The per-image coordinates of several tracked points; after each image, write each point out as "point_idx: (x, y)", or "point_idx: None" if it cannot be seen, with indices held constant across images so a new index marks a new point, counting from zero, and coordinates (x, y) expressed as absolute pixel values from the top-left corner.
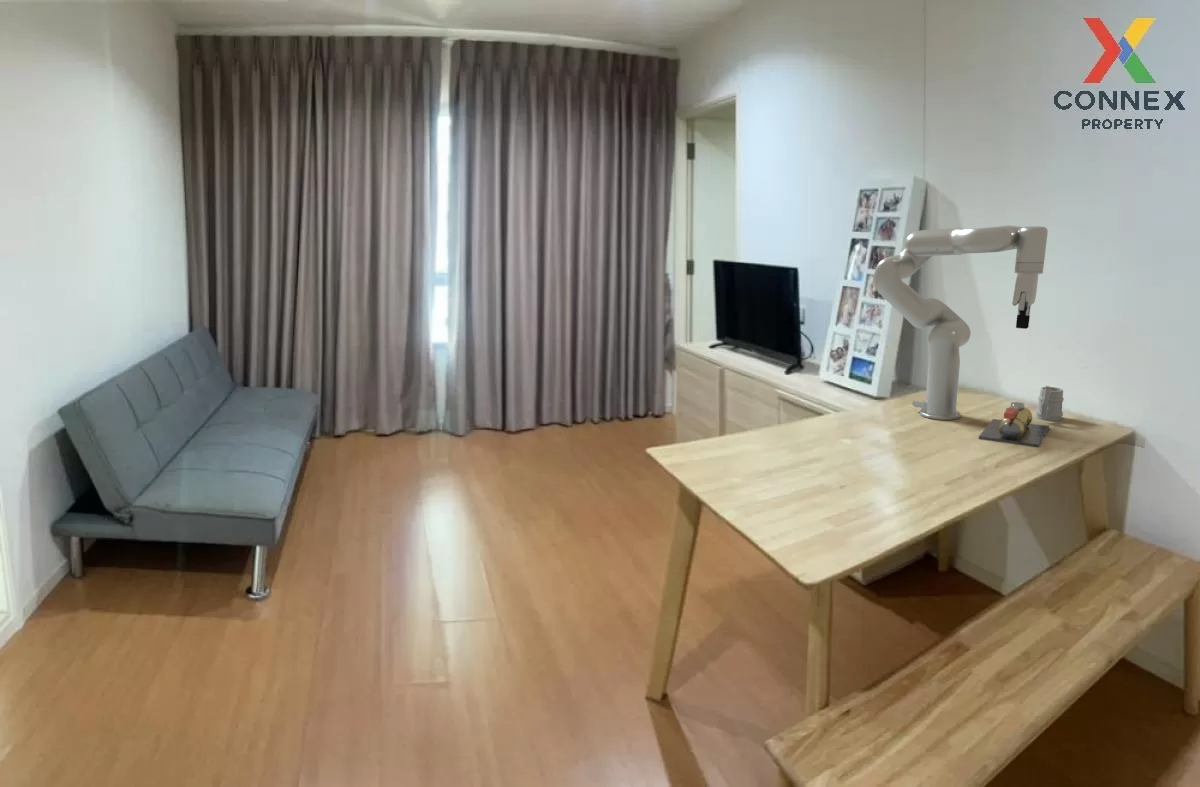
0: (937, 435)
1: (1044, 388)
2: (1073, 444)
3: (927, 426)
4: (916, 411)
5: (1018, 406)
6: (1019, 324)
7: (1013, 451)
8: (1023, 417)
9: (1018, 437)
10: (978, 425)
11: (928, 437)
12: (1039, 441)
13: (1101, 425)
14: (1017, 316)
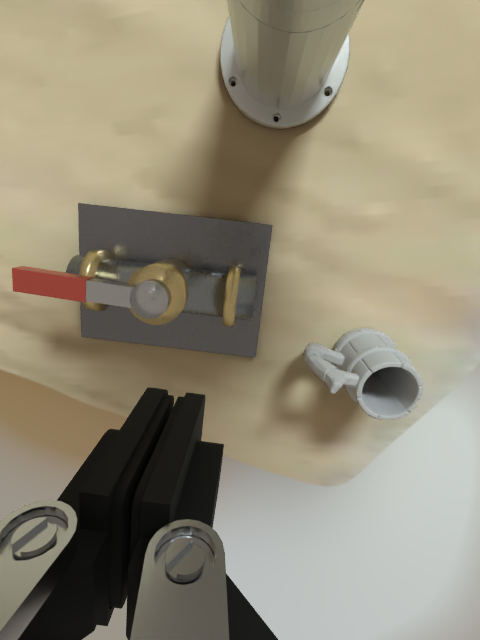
0: (55, 90)
1: (408, 371)
2: None
3: (134, 42)
4: None
5: (116, 303)
6: (106, 437)
7: None
8: None
9: None
10: (212, 190)
11: (22, 67)
12: (106, 337)
13: (327, 452)
14: (90, 479)
